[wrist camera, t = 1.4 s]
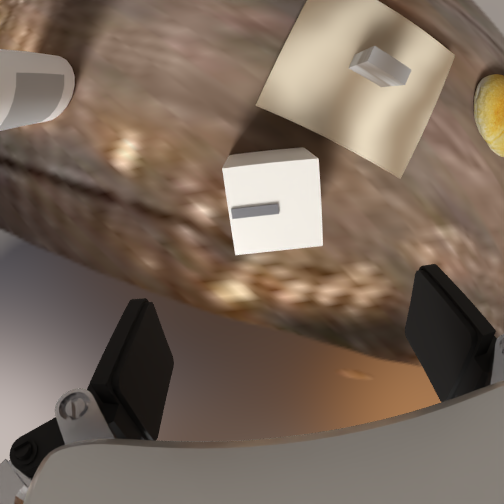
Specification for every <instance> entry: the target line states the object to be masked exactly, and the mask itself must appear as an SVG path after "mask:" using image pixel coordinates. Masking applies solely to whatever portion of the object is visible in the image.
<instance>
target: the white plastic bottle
mask: <svg viewBox="0 0 504 504" xmlns="http://www.w3.org/2000/svg"><path fill="white" fill-rule="evenodd" d="M74 87H75V76H74V73H73V69H72V67H71V65H70V64H69V63H68V61H67V60H66V59H64V58H62V57H60V56H56V55H49V54H42V53H34V52H26V51H16V50H4V49H0V131H2V130H6V129H11V128H15V127H20V126H25V125H30V124H35V123H41V122H46V121H50V120H53V119H54V118H56V117H57V116H59V115H60V114H61V113H62V112H63V111H64V109H65V108H66V107H67V106H68V104H69V102H70V100H71V98H72V95H73V91H74Z"/></svg>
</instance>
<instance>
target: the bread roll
mask: <svg viewBox="0 0 504 504" xmlns="http://www.w3.org/2000/svg"><path fill="white" fill-rule="evenodd" d="M474 118H475V122H476V125H477V128H478V130H479V132H480V134H481V136H482V137H483V138H484V140H485V141H486V142H487V144H488V146H489V147H490V149H491V150H492V151H493V152H495V153H496V154H497V155H499V156H501V157H504V76H503V75H499V74H493V75H489V76H486V77H485V78H483V79H482V80H481V81H480V82H479V84H478V86H477V88H476V92H475V96H474Z"/></svg>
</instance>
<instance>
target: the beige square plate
mask: <svg viewBox="0 0 504 504" xmlns="http://www.w3.org/2000/svg"><path fill="white" fill-rule="evenodd" d="M454 57H455V55H454V54H453V53H451V52H450V51H449V50H448V49H447V48H445V47H444V46H443V45H442V44H440V43H439V42H438V41H437V40H435V39H434V38H433V37H431V36H430V35H429V34H427V33H426V32H425V31H423V30H422V29H421V28H419V27H418V26H416V25H415V24H413V23H412V22H411V21H409V20H408V19H406V18H405V17H403V16H402V15H400V14H399V13H397V12H395V11H394V10H392V9H391V8H389V7H388V6H386V5H384V4H383V3H381V2H379V1H378V0H307V1H306V3H305V5H304V7H303V9H302V11H301V13H300V15H299V17H298V19H297V21H296V23H295V24H294V26H293V28H292V30H291V32H290V34H289V36H288V38H287V40H286V42H285V44H284V46H283V48H282V50H281V52H280V55H279V57H278V59H277V61H276V63H275V65H274V67H273V69H272V71H271V73H270V75H269V77H268V80H267V82H266V84H265V86H264V88H263V90H262V92H261V95H260V97H259V99H258V101H257V103H256V106H257V107H260V108H262V109H265V110H267V111H269V112H272V113H274V114H276V115H279V116H281V117H283V118H285V119H288V120H290V121H292V122H294V123H296V124H298V125H301V126H303V127H305V128H307V129H309V130H311V131H313V132H315V133H317V134H319V135H321V136H323V137H325V138H327V139H329V140H331V141H333V142H335V143H337V144H339V145H341V146H343V147H345V148H347V149H349V150H350V151H352V152H354V153H356V154H358V155H360V156H361V157H363V158H365V159H367V160H369V161H370V162H372V163H374V164H376V165H377V166H379V167H381V168H382V169H384V170H386V171H388V172H389V173H391V174H393V175H394V176H396V177H398V178H401V176H402V174H403V172H404V170H405V169H406V167H407V165H408V163H409V160H410V158H411V156H412V154H413V152H414V150H415V148H416V146H417V144H418V142H419V140H420V138H421V135H422V133H423V131H424V129H425V127H426V125H427V122H428V120H429V118H430V116H431V113H432V111H433V109H434V107H435V104H436V102H437V100H438V97H439V95H440V92H441V90H442V88H443V85H444V83H445V80H446V78H447V75H448V73H449V70H450V67H451V65H452V62H453V59H454Z"/></svg>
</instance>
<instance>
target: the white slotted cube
mask: <svg viewBox="0 0 504 504" xmlns="http://www.w3.org/2000/svg"><path fill="white" fill-rule="evenodd" d="M222 170H223V177H224V184H225V190H226V197H227V203H228V210H229V216H230V223H231V229H232V236H233V242H234V248H235V255H241V254H251V253H260V252H269V251H279V250H288V249H297V248H306V247H316V246H323V238H322V210H321V189H320V172H319V159H318V158H317V157H316V156H315V155H313V154H312V153H311V152H309V151H308V150H307V149H305V148H304V147H301V148H289V149H278V150H268V151H259V152H250V153H242V154H234V155H229V156H228V158H227V160H226V162H225V164H224V166H223V168H222Z"/></svg>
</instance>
